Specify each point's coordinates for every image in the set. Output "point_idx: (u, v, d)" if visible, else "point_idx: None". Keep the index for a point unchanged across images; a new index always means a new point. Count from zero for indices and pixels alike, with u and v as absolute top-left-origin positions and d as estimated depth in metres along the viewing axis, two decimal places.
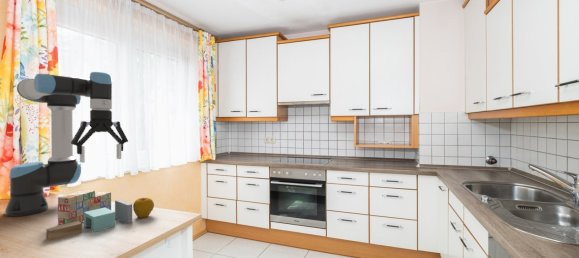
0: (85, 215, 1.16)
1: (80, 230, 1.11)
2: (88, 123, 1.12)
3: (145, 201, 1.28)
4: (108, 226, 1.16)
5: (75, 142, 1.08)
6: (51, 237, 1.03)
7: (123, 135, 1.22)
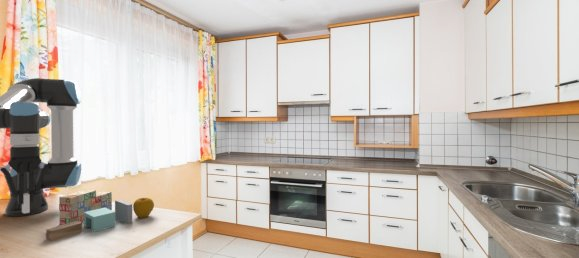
0: (85, 215, 1.16)
1: (80, 229, 1.11)
2: (8, 166, 0.94)
3: (145, 201, 1.28)
4: (108, 226, 1.16)
5: (14, 191, 0.95)
6: (53, 237, 1.03)
7: (40, 181, 1.01)
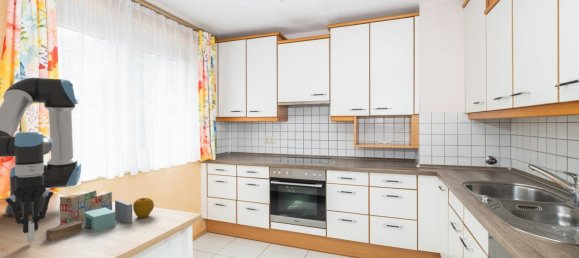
0: (85, 215, 1.16)
1: (80, 229, 1.11)
2: (13, 197, 0.96)
3: (145, 201, 1.28)
4: (108, 226, 1.16)
5: (19, 221, 0.96)
6: (54, 237, 1.03)
7: (44, 209, 1.02)
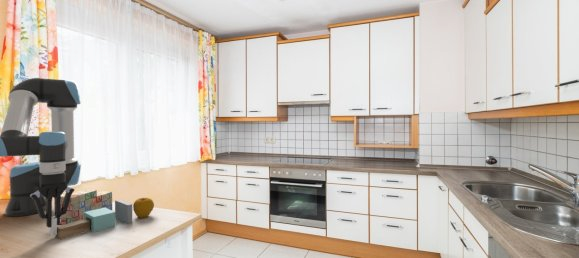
0: (85, 215, 1.16)
1: (88, 227, 1.13)
2: (38, 193, 1.01)
3: (145, 201, 1.28)
4: (108, 226, 1.16)
5: (43, 216, 1.02)
6: (62, 235, 1.05)
7: (66, 205, 1.07)
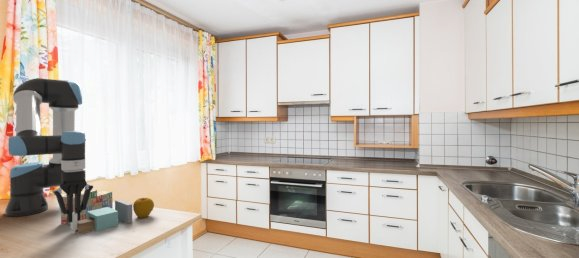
0: (88, 214, 1.17)
1: None
2: (60, 189, 1.06)
3: (145, 201, 1.28)
4: (111, 225, 1.17)
5: (65, 211, 1.07)
6: (80, 230, 1.10)
7: (85, 201, 1.12)
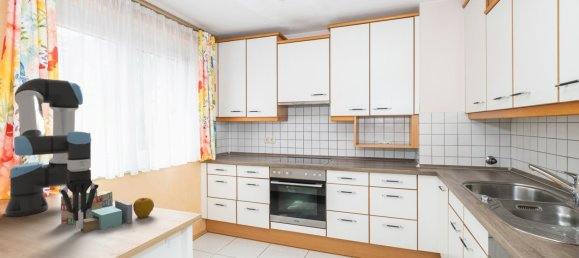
0: (92, 213, 1.18)
1: None
2: (66, 188, 1.08)
3: (145, 201, 1.28)
4: (115, 224, 1.18)
5: (71, 210, 1.08)
6: (86, 228, 1.11)
7: (91, 200, 1.14)
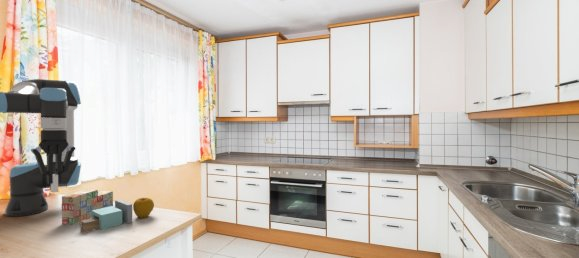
0: (93, 213, 1.19)
1: None
2: (39, 148, 1.01)
3: (145, 201, 1.28)
4: (115, 224, 1.18)
5: (44, 171, 1.02)
6: (86, 229, 1.11)
7: (67, 163, 1.07)
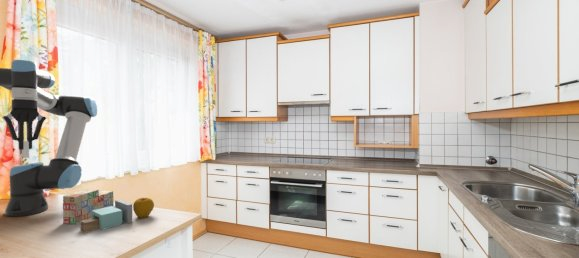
0: (93, 213, 1.19)
1: None
2: (10, 115, 1.09)
3: (145, 201, 1.28)
4: (115, 224, 1.18)
5: (15, 137, 1.09)
6: (86, 229, 1.11)
7: (37, 131, 1.15)
